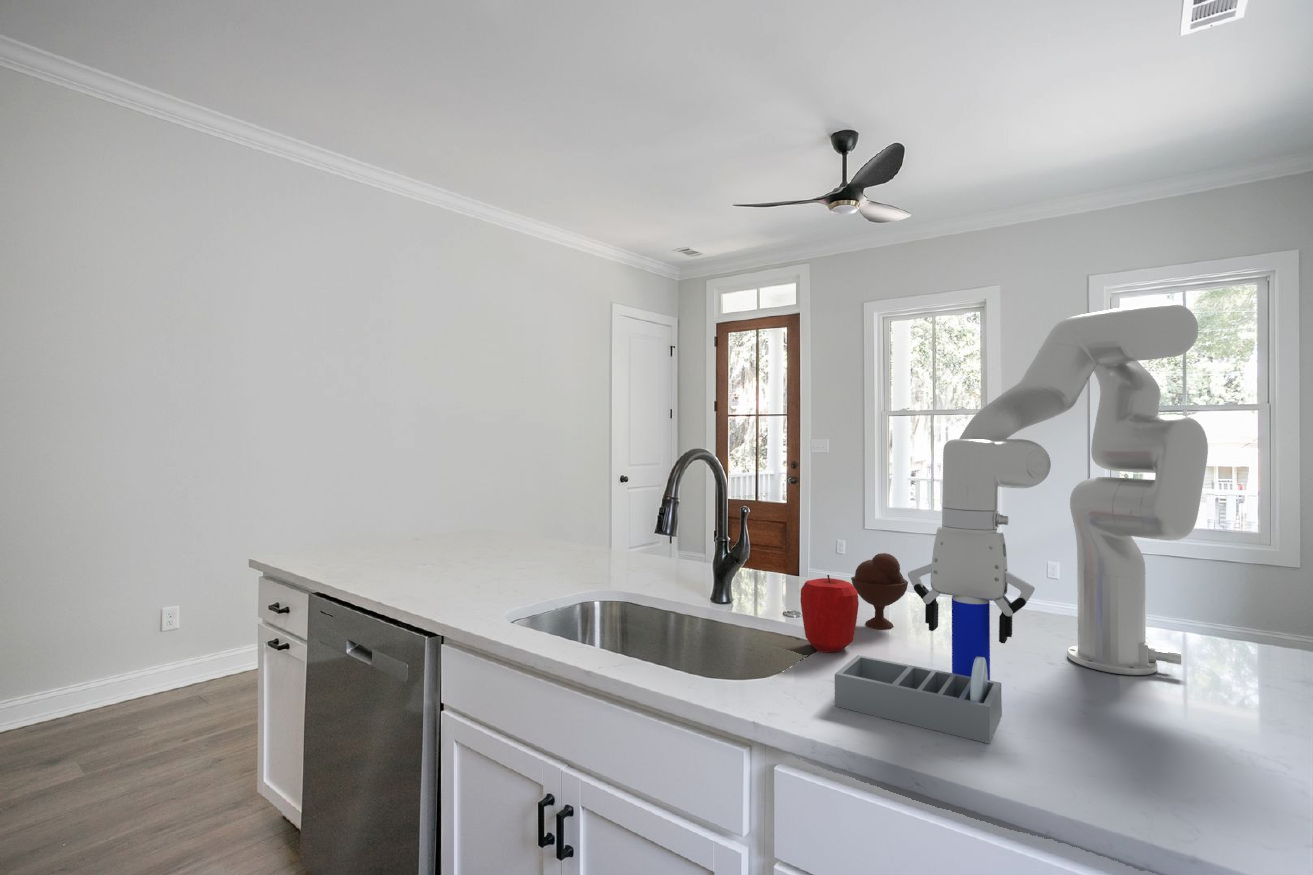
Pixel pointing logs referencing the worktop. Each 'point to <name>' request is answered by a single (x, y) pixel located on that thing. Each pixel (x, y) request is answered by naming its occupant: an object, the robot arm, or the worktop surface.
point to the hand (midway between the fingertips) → (967, 634)
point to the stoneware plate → (979, 680)
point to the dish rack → (918, 697)
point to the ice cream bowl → (880, 586)
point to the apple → (829, 613)
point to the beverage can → (970, 633)
